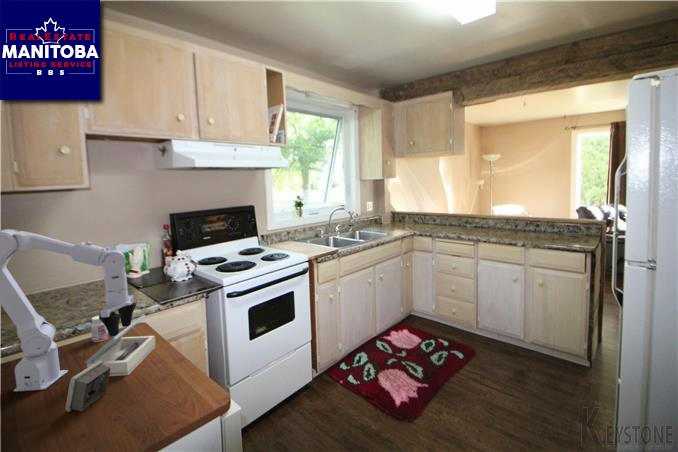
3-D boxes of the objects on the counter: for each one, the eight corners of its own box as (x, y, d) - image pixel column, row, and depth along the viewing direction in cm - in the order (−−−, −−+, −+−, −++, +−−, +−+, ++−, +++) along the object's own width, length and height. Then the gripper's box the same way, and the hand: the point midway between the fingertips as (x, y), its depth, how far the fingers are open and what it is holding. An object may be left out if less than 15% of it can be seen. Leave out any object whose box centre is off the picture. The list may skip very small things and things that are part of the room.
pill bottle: (100, 343, 121) (97, 320, 120) (89, 342, 122) (86, 319, 121) (111, 337, 126) (109, 315, 125) (100, 336, 127) (98, 314, 126)
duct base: (128, 375, 100) (126, 362, 99) (88, 377, 99) (87, 364, 99) (155, 346, 118) (154, 335, 117) (122, 348, 117) (121, 337, 116)
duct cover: (121, 337, 116) (119, 335, 116) (145, 316, 116) (143, 314, 116) (87, 364, 98) (84, 361, 98) (115, 339, 98) (113, 336, 98)
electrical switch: (95, 390, 92) (95, 358, 91) (113, 393, 92) (113, 360, 91) (64, 413, 83) (63, 377, 82) (83, 416, 83) (83, 380, 82)
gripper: (117, 295, 99) (121, 340, 100) (141, 282, 113) (144, 321, 115) (91, 296, 98) (95, 341, 100) (119, 282, 113) (122, 322, 114)
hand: (120, 330), depth 107 cm, fingers closed on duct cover, 7 cm apart
